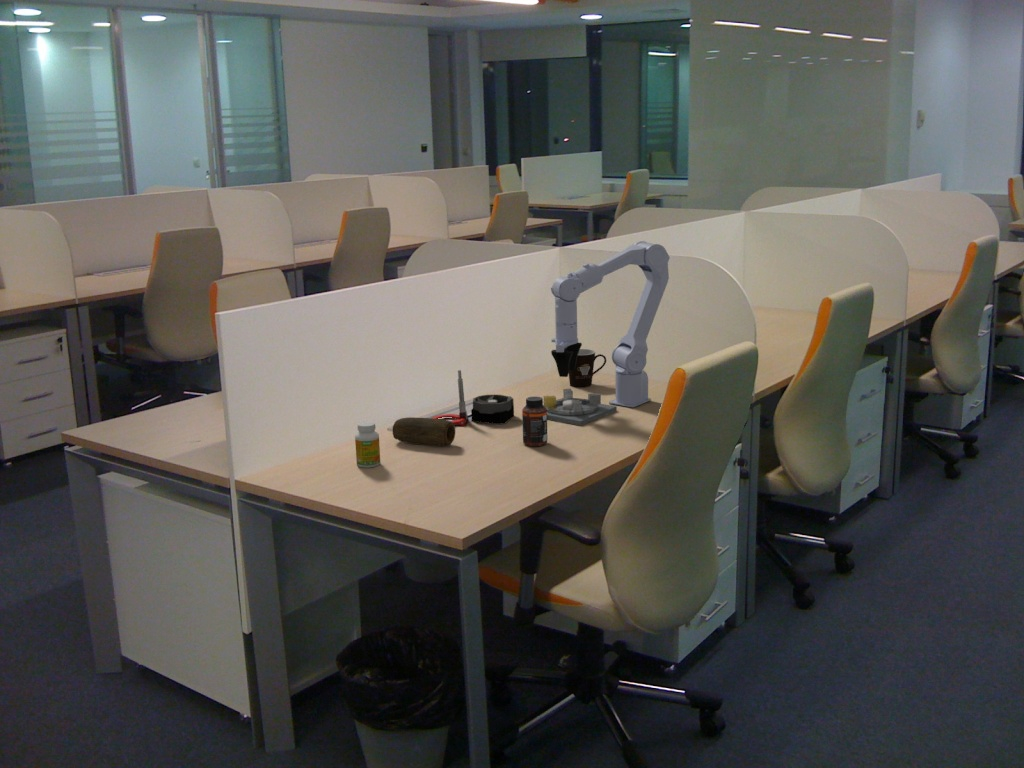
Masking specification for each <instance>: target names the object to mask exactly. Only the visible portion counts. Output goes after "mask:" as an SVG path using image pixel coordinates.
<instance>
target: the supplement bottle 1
mask: <svg viewBox="0 0 1024 768" xmlns="http://www.w3.org/2000/svg"><path fill="white" fill-rule="evenodd" d="M356 425H357V431H358V432H356V434H355V435H354V439H355V440H354V441H355V455H356V456H355V457H356V465H357V466H358V467H360V468H364V469H371V468H376V467H378V466H379V465H380V464H381V449H380V434H379V433H378V431H376V423H375V422H373V421H367V420H366V421H361V422H359V423H357V424H356Z"/></svg>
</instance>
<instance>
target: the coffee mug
mask: <svg viewBox="0 0 1024 768" xmlns="http://www.w3.org/2000/svg"><path fill="white" fill-rule="evenodd" d="M598 357H602V358H603V360H604V361H603V363H602V365H601V366H599V368H597V369H596V370H594V367H595V366H594V365H595V361H596V359H597V358H598ZM606 363H607V356H606V355H603V354H602V353H600V354H599V353H598V354H596V351H595V350H594V349H589V348H580V350H579V353H578V356H577V361H576V366H575V370H569V373H568V380H569V386H570V387H571V388H578V389H581V388H583V389H584V388H589V387H591V386H592V383H593V376H594V375H595V374H597V373H598V372H599V371H601V370H602V369H603V368H604V366H605V365H606Z"/></svg>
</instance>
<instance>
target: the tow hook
mask: <svg viewBox="0 0 1024 768" xmlns="http://www.w3.org/2000/svg"><path fill="white" fill-rule="evenodd" d="M457 376H458V377H457V385H458V399H459V400H458V401H459V402H458V406H459V407H458V408H459V414H456V413H452V414H451V413H447V414H440V415H435V416H431V418H433V419H438V418H442V417H452V418H456V419H458V420H456V419H453V420H451V422H452V423H453V424H454V426H456V425H457V426H458V425H460V426H462V427H464V426H465V425H466V423H467V420H468V413H467V409H466V401H465V394H464V393H465V392H464V382H463V381H464V380H463V377H462V370H461V369H459V370H457Z"/></svg>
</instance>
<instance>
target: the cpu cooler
mask: <svg viewBox="0 0 1024 768" xmlns="http://www.w3.org/2000/svg"><path fill="white" fill-rule="evenodd" d="M472 399H473V400H472V408H471V410H470V411H471V415H470V416H471V422H473V423H481V424H489V425H490V424H492V425H501V424H503V425H504V424H506V423H507V422H508V421H510V420H512V419H513V417H515V407H514V406H515V404H514V398H513V396H508V395H503V394H482V395H478V396H476V397H473V398H472Z"/></svg>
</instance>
